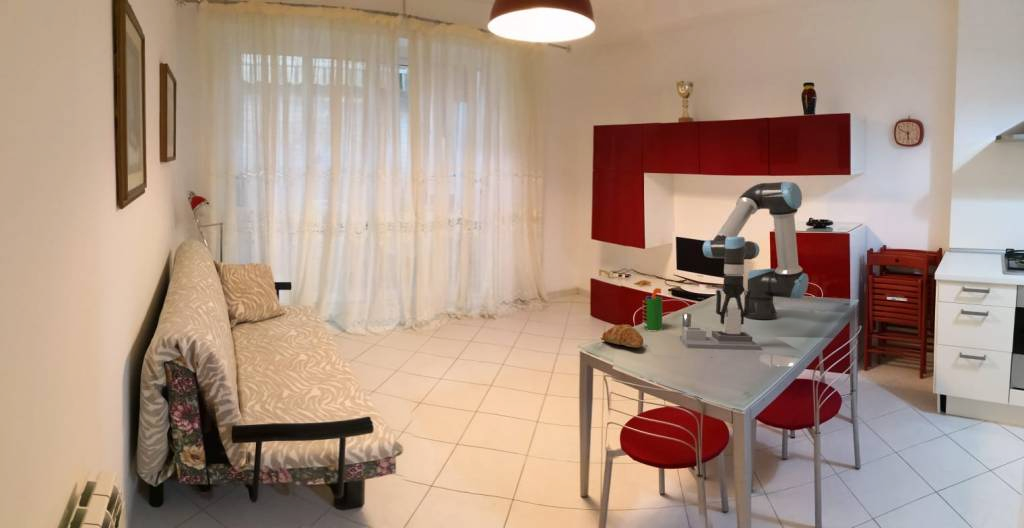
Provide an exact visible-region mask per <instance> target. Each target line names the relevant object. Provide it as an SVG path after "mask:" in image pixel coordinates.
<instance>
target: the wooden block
mask: <svg viewBox="0 0 1024 528" xmlns="http://www.w3.org/2000/svg"><path fill="white" fill-rule="evenodd" d="M725 316H726V317H727V321H726V334H740V320H741V309H739V308H738V307H733V306H731V307H729V306H727V310H726V313H725Z"/></svg>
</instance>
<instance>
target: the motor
mask: <svg viewBox="0 0 1024 528" xmlns="http://www.w3.org/2000/svg"><path fill="white" fill-rule="evenodd" d="M657 294H662V289H661V288H660V287H656V288H654V289H653V291H652V294H651V296H645V299H643V300H642V306H643V307H642V314H643V315H642V318H643V319H642V322H645V325H646V324H647V326H646V328H647V329H648V330H660V329H662V330H663V297H660V296H656V295H657ZM660 331H661V330H660Z"/></svg>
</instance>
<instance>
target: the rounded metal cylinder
mask: <svg viewBox="0 0 1024 528" xmlns="http://www.w3.org/2000/svg"><path fill="white" fill-rule="evenodd" d="M681 325H682V327H681V328H682V329H681V334H682V335H683V327H692V313H689V312H687V313H685V312H683V313H682V324H681Z"/></svg>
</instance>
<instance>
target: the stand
mask: <svg viewBox="0 0 1024 528" xmlns="http://www.w3.org/2000/svg"><path fill="white" fill-rule="evenodd" d="M679 340H680V341H681V342H682V344H683V345H684V346H685V347H686V348H687V349H717V350H718V349H719V350H747V351H749V350H750V351H751V350H753V351H761V350H762V347H761V346H762V345H760V344H758V343H757V342H755V341H754V340H753V336H752V335H750V334H749V333H747V332H746V331H741V333H740V334H726V333H724V332H723V330H711V336H707V329H705V328H703V327H701V326H700V327H693V326H691V327H683V334H682V335H680V336H679Z"/></svg>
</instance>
